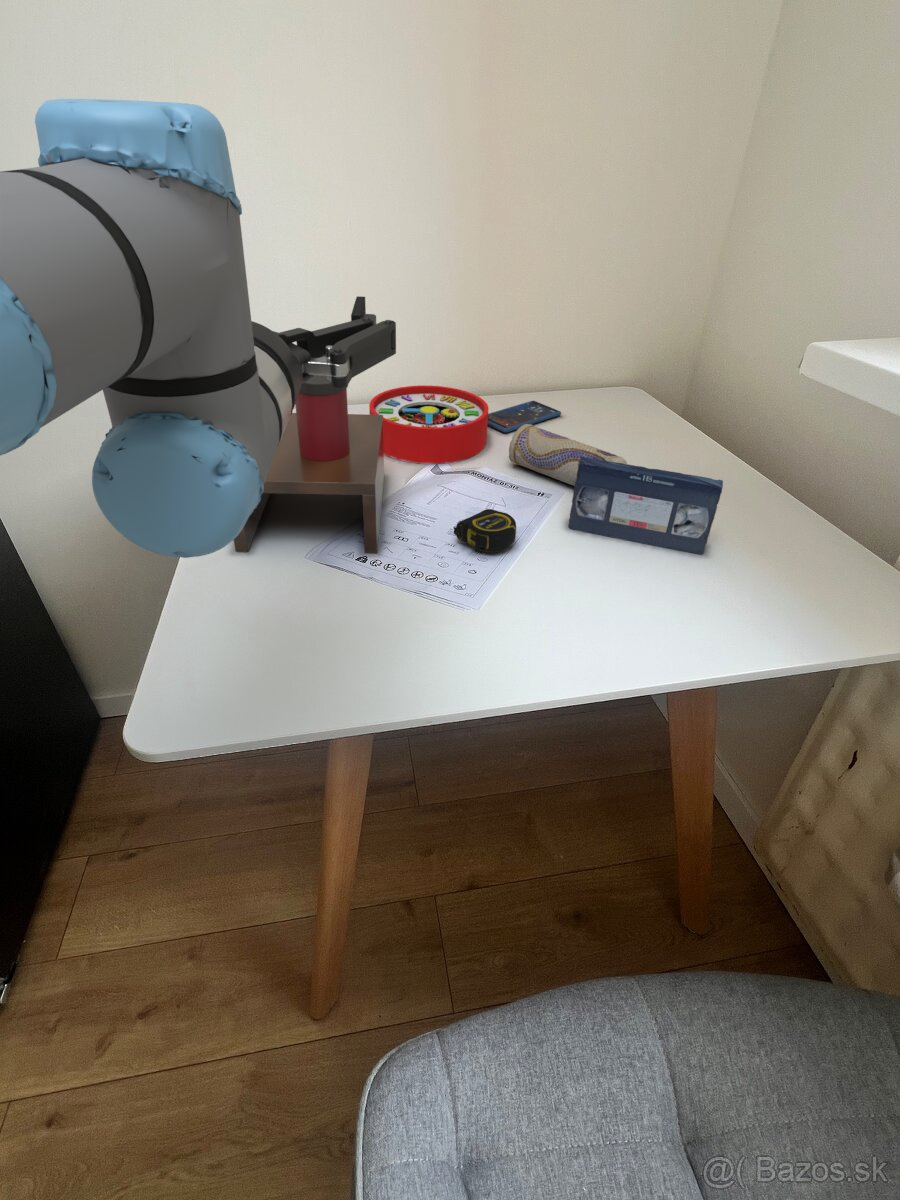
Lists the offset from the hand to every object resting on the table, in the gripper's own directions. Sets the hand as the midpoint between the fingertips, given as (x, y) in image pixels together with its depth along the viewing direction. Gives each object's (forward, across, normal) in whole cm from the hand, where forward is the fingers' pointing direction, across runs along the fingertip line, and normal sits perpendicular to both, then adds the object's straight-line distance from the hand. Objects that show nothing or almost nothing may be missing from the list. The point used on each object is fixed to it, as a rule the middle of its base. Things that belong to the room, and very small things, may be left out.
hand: (285, 309), depth 63 cm
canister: (+19, 0, +22) cm, 29 cm away
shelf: (+21, +2, +32) cm, 38 cm away
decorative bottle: (+29, -37, +32) cm, 57 cm away
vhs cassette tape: (+15, -42, +32) cm, 55 cm away
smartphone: (+57, -31, +32) cm, 72 cm away
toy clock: (+47, -14, +32) cm, 58 cm away
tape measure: (+13, -21, +32) cm, 40 cm away
